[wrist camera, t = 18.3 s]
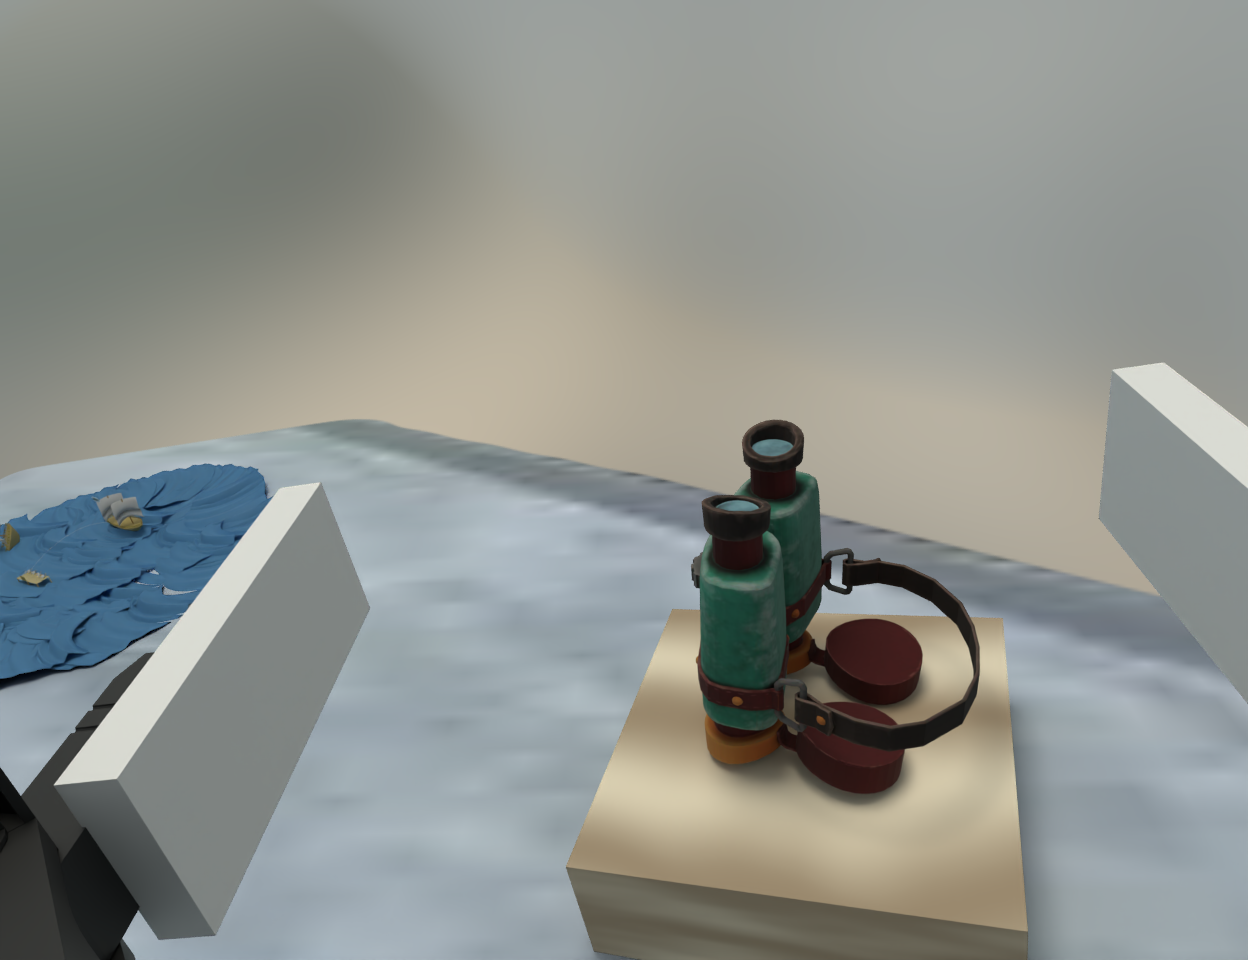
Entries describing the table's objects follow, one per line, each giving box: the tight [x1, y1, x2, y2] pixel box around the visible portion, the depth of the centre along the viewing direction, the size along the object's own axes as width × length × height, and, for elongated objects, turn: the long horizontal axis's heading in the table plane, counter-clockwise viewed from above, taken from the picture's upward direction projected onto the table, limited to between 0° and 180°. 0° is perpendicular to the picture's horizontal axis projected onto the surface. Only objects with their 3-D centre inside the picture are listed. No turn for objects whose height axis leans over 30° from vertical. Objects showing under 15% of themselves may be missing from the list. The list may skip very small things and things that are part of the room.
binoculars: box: [691, 420, 980, 794], centre depth 31 cm, size 9×11×10 cm
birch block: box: [566, 609, 1028, 960], centre depth 34 cm, size 14×14×5 cm
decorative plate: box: [0, 464, 273, 679], centre depth 67 cm, size 30×30×5 cm
